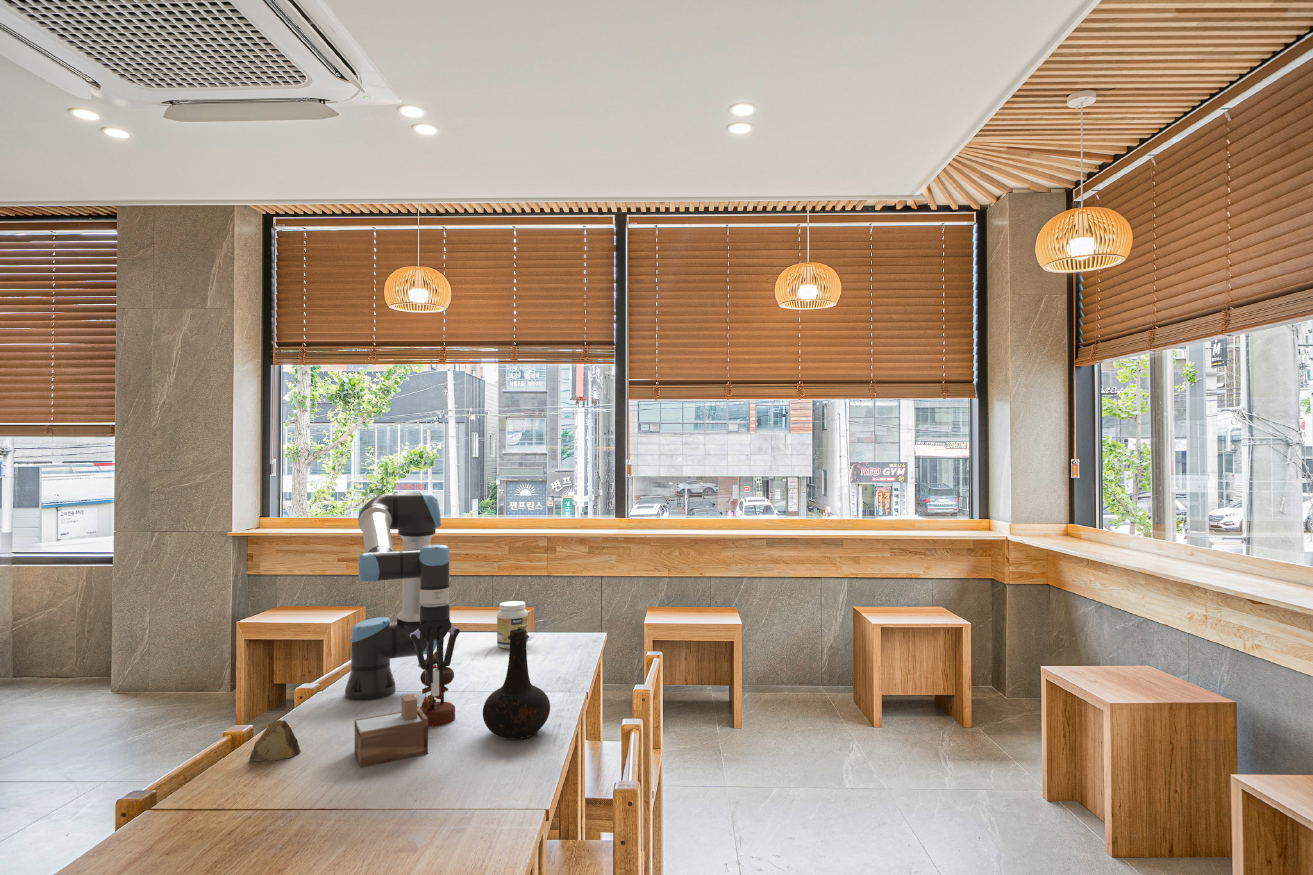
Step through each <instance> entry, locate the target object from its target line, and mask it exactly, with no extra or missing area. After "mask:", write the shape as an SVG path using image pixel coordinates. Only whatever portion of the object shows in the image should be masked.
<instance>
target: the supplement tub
mask: <svg viewBox="0 0 1313 875" xmlns="http://www.w3.org/2000/svg"><path fill="white" fill-rule="evenodd" d="M526 607H527V605H526V601H521V600H520V601H519V600H511V601H510V600H509V601H504V602H500V603H499V606H498V608H499V610H498V611H497V613H496V644H497V646H498V647H499V648H500V649H509V650H510V640H509V639H508V636H509V635H510V630H516V629H525V630H526V635H528V636H529V634H528V633H529V618H528V617H529V613H528V610H527V609H526ZM528 641H529V638H528V639H526V645H527V644H528Z"/></svg>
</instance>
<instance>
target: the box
mask: <svg viewBox="0 0 1313 875" xmlns="http://www.w3.org/2000/svg"><path fill="white" fill-rule="evenodd" d="M420 707H421V706H419V705H417V714H418V715H419V717H420V718H421V720H422V721H420V722H415V723H409V724H404V725H398V726H393V727H387V728H382V729H376V730H371V731H365V732H360V733H359V730H358V728H357V726H356V721H357V720H363V719H369V718H374V717H380V716H386V715H392V714H397V713H401V711H396V712H391V713H386V714H380V715H374V716H368V717H361V718H355V719H354V738H353V739H354V746H353V747H354V754H355V757H356V759H357V762H358V764H359V767H360V768H364V767H369V766H375V765H378V764H384V763H390V762H395V761H398V760H404V759H408V758H414V757H418V756H423V755H428V754H429V726H428V718H427V717H426V715H425V714H424V713H423V711H422V710H421V709H420Z"/></svg>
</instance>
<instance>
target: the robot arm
mask: <svg viewBox="0 0 1313 875" xmlns="http://www.w3.org/2000/svg"><path fill="white" fill-rule="evenodd" d="M439 504H440V503H439V500H438V497H437V495H436V494H435V493H434V492H428V491H427V492H425V491H413V492H386V493H382V494H378V495H376V496H374V497H373V498H371V499H370V500H368V502H366V503H365V504H364V505H363V506H362V508H361V510H360V512H359V514H358V518H357V519H358V521H357V522H358V523H357V524H358V526H359V529H360V531H361V532H362V533H363V534H362V537H363V546H364V552H363V553H361V554H359V556H358V579H359V580H360V581H362V582H372V583H373V582H377V581H390V580H391V581H392V580H402V587H401V588H402V589H401V590H402V594H401V595H402V598H401V599H402V602H401V603H402V604H401V606H402V608H401V609H402V610H400V612H399V613H398V614H397V616H396V620H395V621H391V619H390V617H388V616H380V617H379V616H378V617H373V618H368V619H365V620H361V621H359V622H358V623H356V624H354V625H353V626H352V628H351V636H350V642H351V644H350V645H351V646H350V647H351V648H350V649H351V653H350V656H351V657H350V673H349V676H348V680H347V683H346V685H345V690H344V697H345V698H346V699H347V700H350V701H359V702H360V701H361V702H363V701H373V700H378V699H379V700H380V699H383V698H386V697H389V696H391V695H393V694H394V693H395V692H396V690H397V689H396V688H397V687H396V685H397V684H396V681H395V678H394V675H393V672H392V669H391V662H390V660H391V659H397V658H399V659H400V658H407V657H408V658H409V657H415V656H416V658H417V661H418V665H419V666H420V667H419V666H418V667H419V668H420V669H421V670H422V671H424V670H427V681H428V683H431V691H430V695H431V694H432V696H433V697H434V696H439V682H441V681H443V669H444V668H445V667H450V665H451V662H452V657H453V653H454V648H455V644H456V641H457V640H456V639H457V637H458V636H459V634H460V632H461V630H460V629H459V628H458V627H455V626H454V625H452V621H451V619H450V612H451V611H450V610H451V608H450V604H449V603H450V560H451V557H450V547H449V546H448V545H446V544H431V542H432V541H431V540H432V538H433V536H435V534H436V532H437V530H436V529H439V528H440V527H441V524H442V523H441V522H442V520H441V512H440V505H439ZM392 530H397V535H398V536H399V537H400V538H401V539H402V550H399V551H397V550H396V551H395V550H394V545H393V540H392V534H391V531H392ZM448 632H449V637H448V640H447V646H446V649H445V653H444V641H445V637H446V635H447V634H448ZM435 651H437V664H436V667H437V668H434V669H433V666H434V665H433V655H434V653H435ZM424 655H426V658H427V664H425V657H424ZM434 698H435V697H434Z"/></svg>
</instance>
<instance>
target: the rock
mask: <svg viewBox="0 0 1313 875" xmlns="http://www.w3.org/2000/svg"><path fill="white" fill-rule="evenodd" d="M300 748H301V747H300V745H299V741H298V739H297V737H296V736H295V733H294V732H293V729H292V727H290V725H289V724H288V723H287V721H286V720H282V719H280V720H279V719H278V720H275V721H273V722H272V723H270V724H269V725H267V727H266V729H265V730H264V731H263V733H262V734H261V736H260V737H259V738H258V739H257V740H256V742H255V743H254V746H253V749H252V751H251V753H250V756H249V761H248V762H250V763H251V762H252V763H253V762H266V761H276V760H277V761H278V760H284V759H285V760H286V759H290V758H293V757H295V756H297V755H299V754H300V753H301V752H302V751H301V749H300Z"/></svg>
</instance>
